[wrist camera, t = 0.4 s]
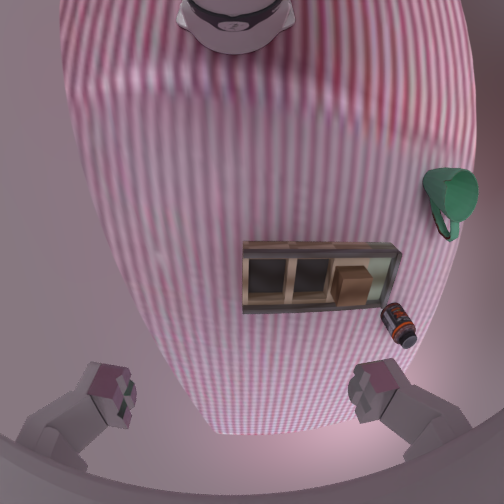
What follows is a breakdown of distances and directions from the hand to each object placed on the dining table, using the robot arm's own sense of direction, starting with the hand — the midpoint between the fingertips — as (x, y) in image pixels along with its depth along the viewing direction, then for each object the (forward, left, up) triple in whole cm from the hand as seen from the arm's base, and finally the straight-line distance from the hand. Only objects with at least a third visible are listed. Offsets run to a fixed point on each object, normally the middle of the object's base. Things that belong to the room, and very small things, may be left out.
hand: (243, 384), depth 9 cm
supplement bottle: (+31, +37, -39) cm, 62 cm away
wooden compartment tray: (+19, +16, -39) cm, 46 cm away
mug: (+1, +39, -39) cm, 55 cm away
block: (+19, +21, -36) cm, 46 cm away
